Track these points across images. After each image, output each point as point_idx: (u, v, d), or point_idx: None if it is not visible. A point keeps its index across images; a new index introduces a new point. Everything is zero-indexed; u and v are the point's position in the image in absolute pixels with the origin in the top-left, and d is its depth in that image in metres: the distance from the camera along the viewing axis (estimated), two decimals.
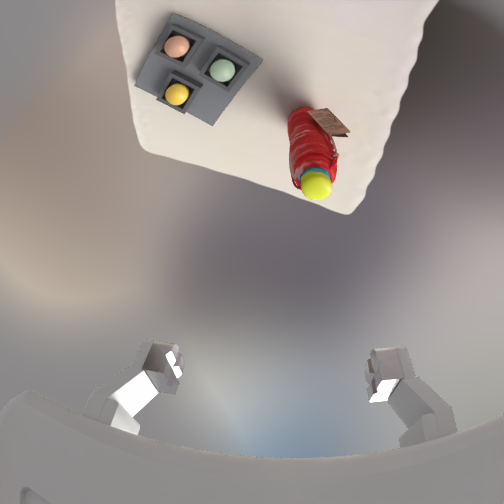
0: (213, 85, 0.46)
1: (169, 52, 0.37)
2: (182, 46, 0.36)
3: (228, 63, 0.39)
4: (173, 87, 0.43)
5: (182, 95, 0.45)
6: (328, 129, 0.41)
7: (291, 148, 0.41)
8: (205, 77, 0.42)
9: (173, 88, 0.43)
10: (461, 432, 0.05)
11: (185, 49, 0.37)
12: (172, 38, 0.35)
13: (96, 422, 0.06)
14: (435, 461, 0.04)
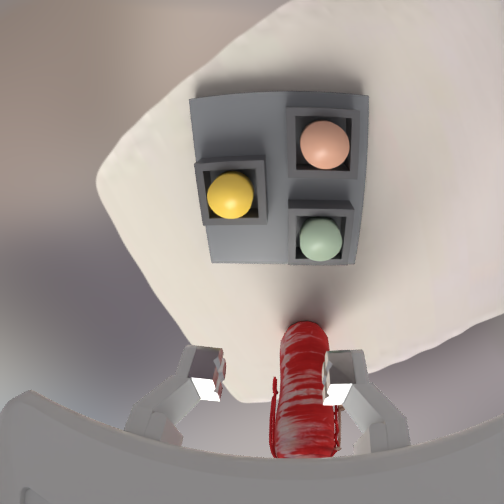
0: (277, 229, 0.31)
1: (308, 140, 0.22)
2: (332, 157, 0.23)
3: (339, 244, 0.27)
4: (241, 185, 0.25)
5: (236, 209, 0.26)
6: None
7: (300, 411, 0.27)
8: (291, 221, 0.28)
9: (239, 186, 0.25)
10: (461, 432, 0.05)
11: (329, 166, 0.23)
12: (339, 131, 0.21)
13: (96, 422, 0.06)
14: (435, 461, 0.04)
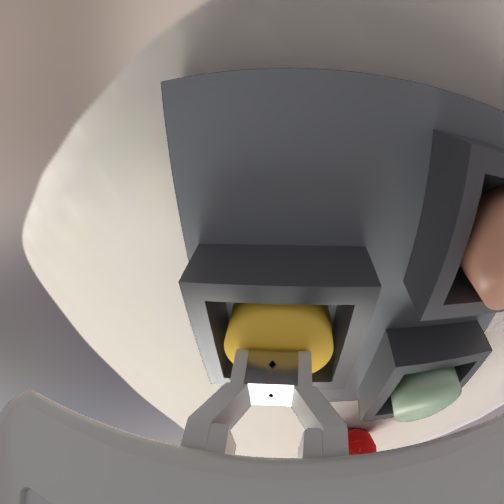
0: None
1: None
2: None
3: (452, 401, 0.11)
4: (313, 333, 0.10)
5: None
6: None
7: None
8: (391, 382, 0.11)
9: (308, 335, 0.10)
10: (461, 432, 0.05)
11: None
12: None
13: (96, 422, 0.06)
14: (435, 461, 0.04)
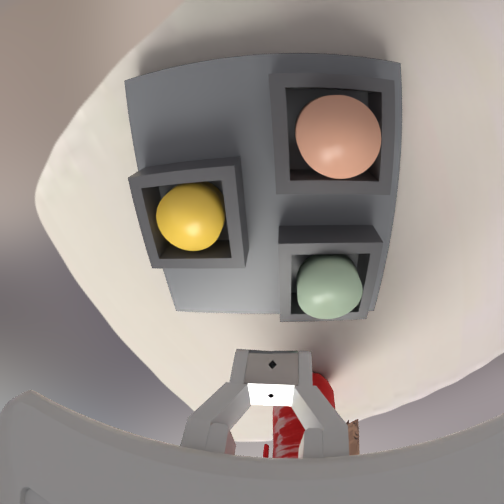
0: (263, 268, 0.21)
1: (310, 127, 0.12)
2: (353, 159, 0.13)
3: (358, 296, 0.17)
4: (204, 201, 0.16)
5: (200, 237, 0.17)
6: None
7: None
8: (283, 263, 0.18)
9: (201, 203, 0.16)
10: (461, 432, 0.05)
11: (347, 173, 0.13)
12: (364, 111, 0.11)
13: (96, 422, 0.06)
14: (435, 461, 0.04)
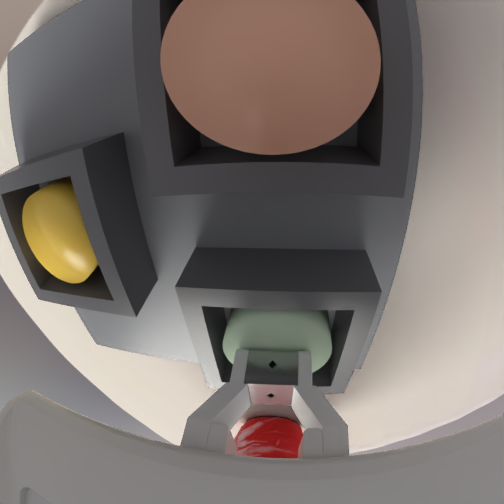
0: None
1: (189, 37, 0.04)
2: (306, 102, 0.05)
3: (324, 355, 0.10)
4: (62, 212, 0.08)
5: (72, 265, 0.10)
6: None
7: None
8: (191, 317, 0.10)
9: (60, 215, 0.08)
10: (461, 432, 0.05)
11: (293, 141, 0.05)
12: None
13: (96, 422, 0.06)
14: (435, 461, 0.04)
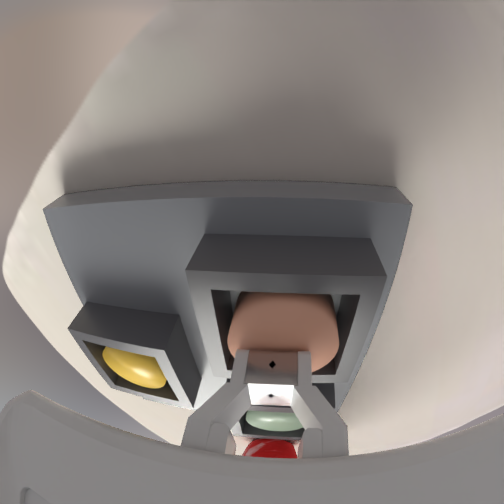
0: None
1: (243, 338, 0.10)
2: None
3: None
4: (143, 362, 0.14)
5: (147, 381, 0.15)
6: None
7: None
8: None
9: (141, 363, 0.14)
10: (461, 432, 0.05)
11: None
12: (319, 326, 0.09)
13: (96, 422, 0.06)
14: (435, 461, 0.04)
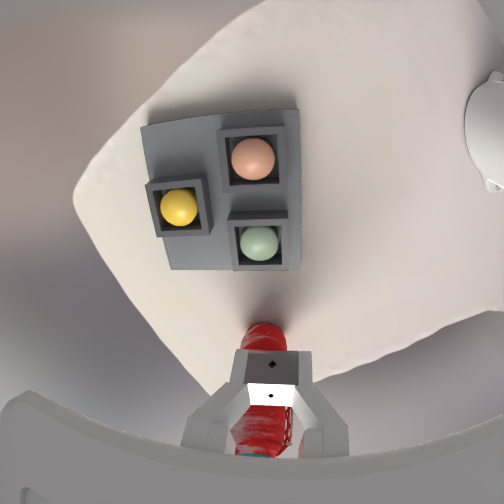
0: (223, 238, 0.34)
1: (237, 156, 0.27)
2: (260, 169, 0.27)
3: (275, 245, 0.32)
4: (186, 198, 0.30)
5: (184, 218, 0.31)
6: None
7: None
8: (230, 232, 0.31)
9: (184, 199, 0.30)
10: (461, 432, 0.05)
11: (257, 177, 0.28)
12: (264, 145, 0.26)
13: (96, 422, 0.06)
14: (435, 461, 0.04)
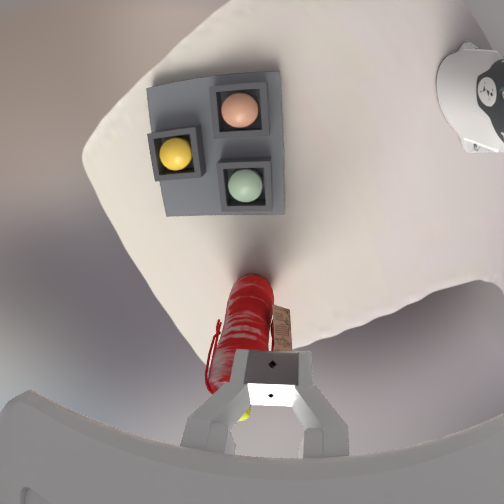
0: (214, 184, 0.37)
1: (226, 107, 0.29)
2: (245, 118, 0.30)
3: (259, 187, 0.35)
4: (182, 144, 0.32)
5: (180, 162, 0.34)
6: (277, 344, 0.37)
7: (231, 343, 0.34)
8: (219, 174, 0.34)
9: (181, 145, 0.33)
10: (461, 432, 0.05)
11: (243, 125, 0.30)
12: (249, 98, 0.29)
13: (96, 422, 0.06)
14: (435, 461, 0.04)
